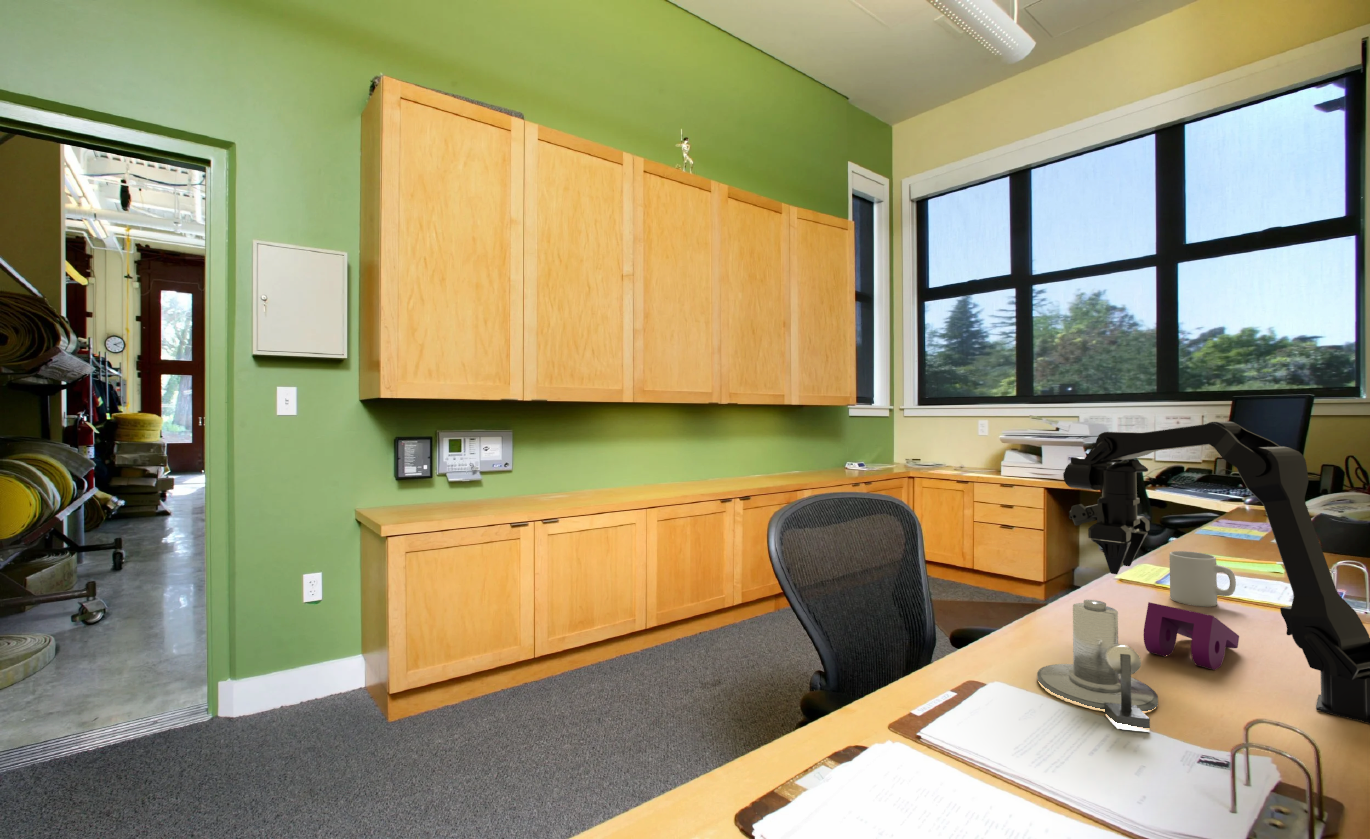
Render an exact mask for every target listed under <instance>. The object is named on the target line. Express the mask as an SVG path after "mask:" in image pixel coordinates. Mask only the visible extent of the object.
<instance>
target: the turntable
mask: <svg viewBox="0 0 1370 839" xmlns="http://www.w3.org/2000/svg"><path fill="white" fill-rule="evenodd" d="M1071 669H1073V663H1058V664H1050V665H1046V666H1043V667H1041V668H1040V669H1038V670H1037V673H1036V674H1037V675H1036V677H1037V678H1038V681H1039V682H1040V683H1041V684H1042V685H1043V686H1044V687H1045V688H1047V689H1049V690H1050V691H1051V692H1053V693H1055V694H1057V695H1060V696H1063V697H1064V698H1067V699H1070V700H1072V701H1076V702H1079V703H1081V704H1084V705H1087V706H1092V707H1095V708H1100V709H1105V703H1115V704H1121V692H1118V693H1103V692H1096V691H1092V690H1088V689H1085V688H1082V687H1080V686H1078V685H1076V684H1074V683H1073V682H1071V680H1070V679H1069V671H1070V670H1071ZM1119 677H1120V678H1121V674H1119ZM1037 678H1036V679H1037ZM1131 700H1132V705H1136V706H1137V707H1138V708H1139V709H1140V710H1141V711H1148V710H1152V709H1154V708H1155V707H1157V705H1158V706H1159V697H1158V694H1157V693H1156V691H1155V690H1154V689H1153V688H1152V687H1151V686H1149V685H1148V684H1146V683H1144V682H1142V681H1140V680H1139V679H1136V678H1134V677H1132V676H1131ZM1157 708H1158V707H1157Z"/></svg>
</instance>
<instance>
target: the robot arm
mask: <svg viewBox="0 0 1370 839" xmlns="http://www.w3.org/2000/svg"><path fill="white" fill-rule="evenodd" d="M1203 446H1211V447H1213V448H1214V449H1215V451H1216V452H1217V453H1218V454H1219V456H1220V457H1221V458H1222V459H1223V461H1224V460H1225V461H1226V462H1228V463H1229V464H1230V465H1232V466H1233V467H1235V468H1236V470H1237V473H1238V474H1239V477H1241V480H1242V482H1243V483H1244V485H1245V487H1246V489H1247V490H1248V491H1250V493H1252V494H1253V496H1254V497H1255V498H1257V499H1258V500H1259V502H1260V503H1261V504H1262V506H1263V508H1264V510H1265V513H1266V517H1267V520H1268V522H1269V527H1270V528H1271V532H1272V534H1273V538H1274V539H1275V543H1276V545H1277V549H1278V551H1279V555H1280V559H1281V560H1282V564H1283V566H1284V567H1283V568H1284V569H1285V573H1286V576H1287V579H1288V582H1289V585H1290V588H1291V591H1292V593H1293V594H1292V595H1293V598H1292V601H1291V605H1289V606H1284V607H1283V606H1282V607H1280V609H1279V610H1280V615H1281V616H1282V619H1283V620H1284V623H1285V624H1286V625H1285V626H1286V636H1292V639H1293V641H1294V643H1295V644H1296V646H1297V647H1298V648H1299V649H1301V650H1302V653H1303V654H1304V658H1305V659H1306V661H1307V664H1308V667H1309V668H1311V669H1314V670H1316V671H1319V673H1320V694H1318V695H1317V700H1316V704H1315V709H1316V711H1319V712H1321V713H1325V714H1330V715H1334V716H1338V717H1342V718H1346V719H1350V720H1352V721H1353V720H1354V721H1359V722H1362V723H1366V724H1370V634H1369V632H1368V631H1367V629H1366V627H1365V625H1364V623H1363V621H1362V620H1361V618H1360V617H1359V615H1358V613H1357V611H1355V609H1354V608H1353V607H1352V606H1351V605H1350V604H1349V603H1348V602H1347V601H1346V600H1345V599H1344V598H1343V597H1342V596H1341V595H1340V594H1339V592H1338V590H1337V588H1336V585H1335V582H1334V580H1333V577H1332V574H1331V571H1330V568H1329V566H1328V563H1327V560H1326V557H1325V555H1324V554H1325V553H1324V551H1323V549H1322V546H1321V543H1320V540H1319V537H1318V534H1317V532H1316V529H1315V526H1314V524H1313V521H1312V519H1311V514H1310V512H1309V509H1308V506H1307V503H1306V500H1305V498H1306V493H1307V489H1308V486H1309V474H1308V467H1307V466H1308V465H1307V461H1306V459H1305V457H1304V455H1303V454H1302V453H1301V452H1300V451H1298V450H1296V449H1293V448H1291V447H1287V446H1281V445H1279V444H1278V443H1276V442H1275V441H1272V440H1271V439H1269V438H1266V437H1264V436H1262V435H1259V434H1258V433H1257V434H1256V433H1254V432H1252V431H1250V430H1247V429H1246V428H1245V427H1243V426H1242V425H1240V424H1237V423H1236V422H1234V421H1210V422H1208V423H1205V424H1203V423H1202V424H1197V425H1189V426H1183V427H1176V428H1167V429H1160V430H1152V431H1135V430H1132V431H1131V430H1126V431H1104V432H1101V433H1100V434H1098V435H1097V438H1096V440H1095V443H1094V445H1093V446H1092V448H1091V449H1090V450H1089V452H1088V453H1087V454H1086V456H1085V457H1083V456H1082V457H1081V456H1072V457H1071V458H1070V463H1068V464H1067V465H1066V467H1065V469H1064V471H1063V475H1062V476H1063V480H1064V483H1065V484H1066V485H1067V486H1068V487H1070V488H1072V489H1080V490H1090V491H1100V490H1101V492H1102V493H1101V496H1100V497H1098V498H1097V504H1093V505H1088V506H1084V504H1083V503H1080V504H1075V505H1072V506H1071V509H1070V510H1069V511H1068V514H1069V516H1068V519H1070V520H1072V522H1073V524H1074V526H1081V525H1082V524H1085V523H1090V522H1094V521H1096V523H1094V524H1092V525H1091V526H1090V527H1088V528H1087V532H1088V539H1091V541H1092V543H1095V544H1097V545H1098V546H1099V547H1100V548H1101V549H1102V552H1103V555H1104V558H1105V561H1106V564H1107V566H1108V570H1109V574H1112V575H1118V574H1119V571H1120V570H1121V567H1122V565H1123V566H1124V567H1131V565H1132V564H1133V562H1134V560H1135V558H1136V555H1137V554H1138V552H1139V550H1140V548H1141V546H1142V545H1143V542H1144V541H1145V538H1146V537H1147V536H1148V532H1149V531H1150V530H1151V529H1150V520H1149V519H1148V518H1146V517H1145V515H1138V505H1139V504H1141V503H1140V502H1141V501H1140V497H1138V494H1137V493H1138V491H1137V490H1138V489H1137V488H1138V487H1137V485H1138V484H1137V483H1138V482H1137V473H1148V471H1149V469H1148V467H1146V466H1145V465H1144V464H1142V463H1141V462H1140V461H1139V460H1138V459H1137V458H1141V457H1145V456H1147V455H1150V454H1152V453H1155V452H1158V451H1164V450H1174V449H1184V448H1193V447H1194V448H1195V447H1203ZM1126 460H1128V461H1127V462H1124V461H1126ZM1108 464H1109V465H1108ZM1141 530H1142V531H1141Z"/></svg>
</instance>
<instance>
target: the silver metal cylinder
mask: <svg viewBox="0 0 1370 839" xmlns="http://www.w3.org/2000/svg"><path fill="white" fill-rule="evenodd" d="M1072 641H1073V642H1072V643H1073V644H1072V646H1073V647H1072V648H1073V649H1072V652H1073V662H1072V664H1073V669H1071V670H1070V671H1069V679H1070V680H1071V682H1073V683H1074V684H1076V685H1078V686H1080V687H1082V688H1085V689H1088V690H1092V691H1096V692H1103V693H1118V692H1121V678H1120V677H1119V673H1117V672H1116V671H1114V670H1113V669H1112V668H1111V667H1110V666H1109V665H1108V664H1107V662H1106V658H1105V655H1106V651H1107V650H1108V649H1109V648H1110V647H1111V646H1113V645H1116V644H1119V610H1117V609H1115V608H1113V607H1111V606H1107V603H1106V602H1104V601H1102V600H1097V599H1084V600H1083V602H1078V603H1073V604H1072Z"/></svg>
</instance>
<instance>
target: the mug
mask: <svg viewBox="0 0 1370 839" xmlns="http://www.w3.org/2000/svg"><path fill="white" fill-rule="evenodd" d="M1168 558H1169V598H1170V600H1171V601H1174V602H1176V603H1179V604H1183V605H1187V606H1194V607H1202V608H1203V607H1204V608H1205V607H1208V608H1209V607H1211V608H1212V607H1216V606H1217V605H1218V597H1219V596H1221V597H1230V596H1232V595H1233V594H1234V593H1235V592H1236V586H1237V581H1236V579H1237V578H1236V577H1235V576H1236V575H1235V572H1234V571H1233V570H1232V569H1231V568H1229V567H1226V566H1224V565H1221V564H1220V565H1219V564H1217V557H1215V556H1214V555H1211V554H1207V553H1201V552H1194V551H1185V550H1183V551H1182V550H1181V551H1180V550H1179V551H1178V550H1177V551H1171V552H1169V557H1168ZM1218 573H1223V574H1225V575H1227V577H1228V579H1229V586H1228V587H1227V589H1224V588H1223V589H1222V588H1220V587H1218V583H1217V582H1218V580H1217V578H1218V577H1217V574H1218Z"/></svg>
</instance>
